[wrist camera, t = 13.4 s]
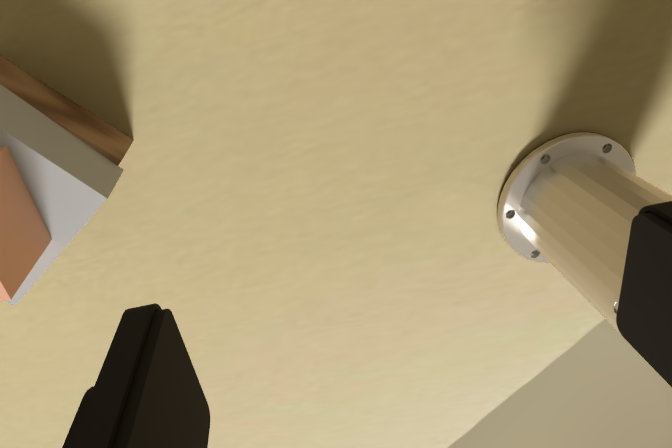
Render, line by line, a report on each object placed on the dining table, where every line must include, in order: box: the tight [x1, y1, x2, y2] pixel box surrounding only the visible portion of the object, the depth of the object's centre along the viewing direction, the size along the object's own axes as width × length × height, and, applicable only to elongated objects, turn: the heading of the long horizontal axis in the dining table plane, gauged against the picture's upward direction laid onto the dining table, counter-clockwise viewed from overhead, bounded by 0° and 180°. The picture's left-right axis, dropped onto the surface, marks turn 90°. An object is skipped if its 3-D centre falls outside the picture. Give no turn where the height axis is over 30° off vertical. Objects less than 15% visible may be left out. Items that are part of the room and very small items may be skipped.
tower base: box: [0, 56, 133, 166], centre depth 34 cm, size 10×10×4 cm
